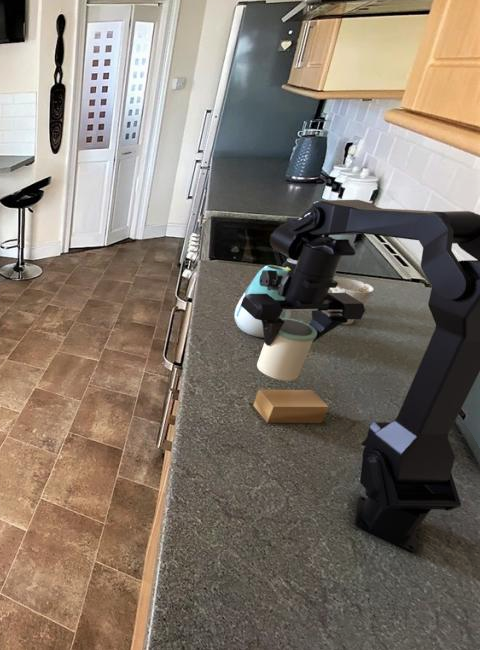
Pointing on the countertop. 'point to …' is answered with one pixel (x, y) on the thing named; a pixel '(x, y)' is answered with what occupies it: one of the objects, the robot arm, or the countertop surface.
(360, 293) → the mug
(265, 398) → the block
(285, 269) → the vase
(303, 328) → the cream cylindrical canister
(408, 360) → the countertop surface
